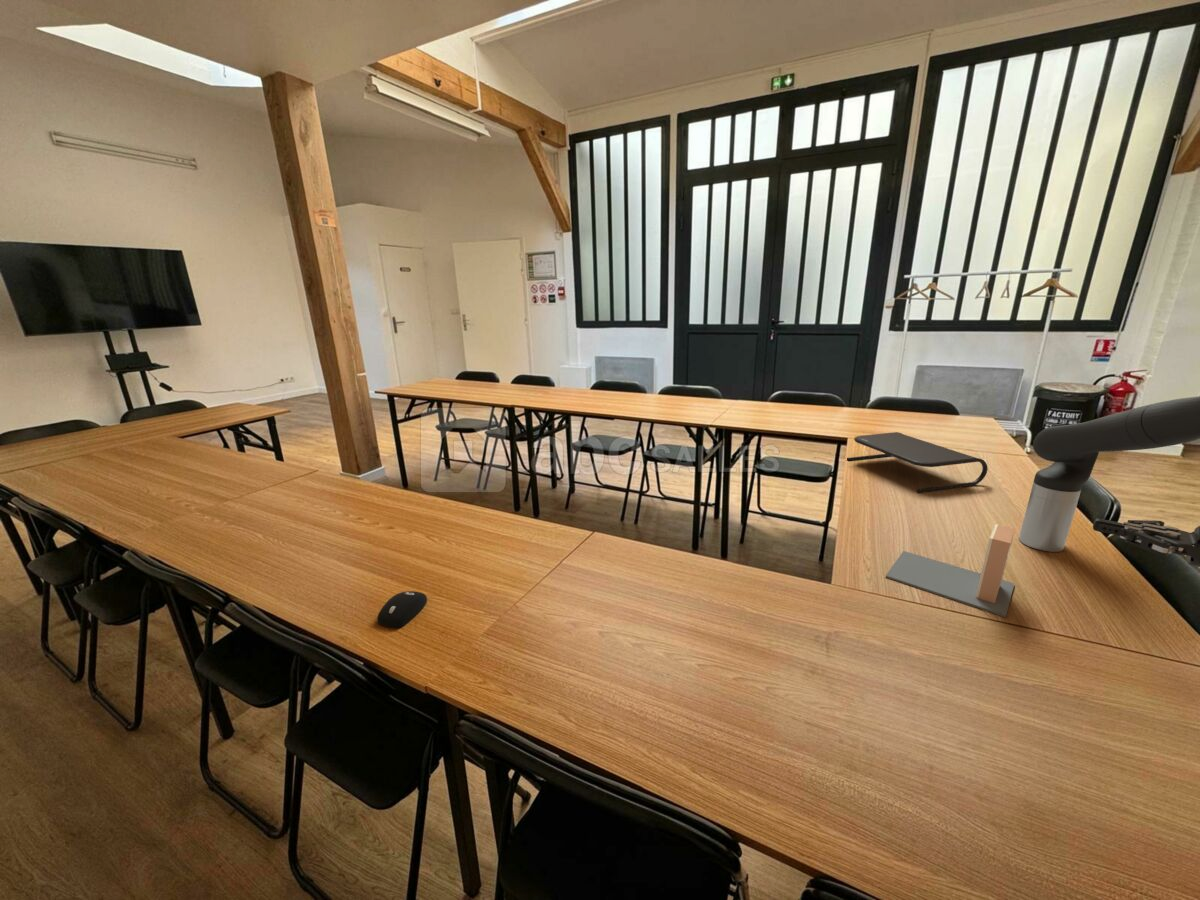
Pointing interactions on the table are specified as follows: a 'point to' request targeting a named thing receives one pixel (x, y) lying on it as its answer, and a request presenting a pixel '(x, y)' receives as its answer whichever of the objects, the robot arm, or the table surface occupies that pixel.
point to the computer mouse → (401, 609)
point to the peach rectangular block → (995, 563)
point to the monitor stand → (918, 454)
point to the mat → (947, 581)
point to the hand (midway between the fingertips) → (1094, 524)
